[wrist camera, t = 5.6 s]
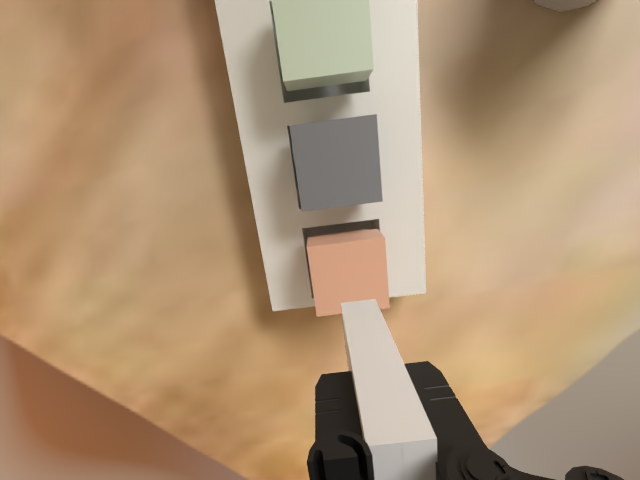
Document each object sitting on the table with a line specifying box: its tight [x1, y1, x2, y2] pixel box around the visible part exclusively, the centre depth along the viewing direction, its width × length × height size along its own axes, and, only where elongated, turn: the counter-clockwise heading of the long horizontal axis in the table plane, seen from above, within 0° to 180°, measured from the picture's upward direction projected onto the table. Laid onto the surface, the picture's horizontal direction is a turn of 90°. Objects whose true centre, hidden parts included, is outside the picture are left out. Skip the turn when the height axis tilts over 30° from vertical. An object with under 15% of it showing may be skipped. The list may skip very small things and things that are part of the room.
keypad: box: [215, 0, 426, 311], centre depth 21 cm, size 28×12×4 cm, turn 7°
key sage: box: [272, 0, 374, 91], centre depth 17 cm, size 5×5×4 cm
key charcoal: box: [290, 114, 383, 212], centre depth 19 cm, size 5×5×4 cm
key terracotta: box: [307, 229, 390, 317], centre depth 21 cm, size 5×5×4 cm
